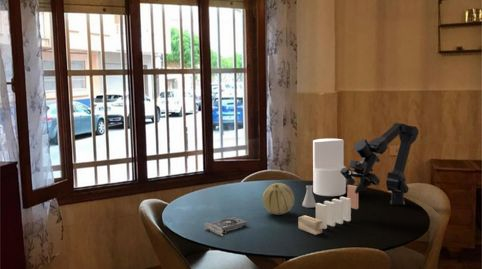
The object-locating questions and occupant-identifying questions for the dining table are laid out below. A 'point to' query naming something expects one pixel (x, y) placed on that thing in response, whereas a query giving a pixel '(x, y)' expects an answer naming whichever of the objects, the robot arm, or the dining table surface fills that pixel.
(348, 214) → the domino
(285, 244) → the dining table surface
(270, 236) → the dining table surface
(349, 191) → the domino
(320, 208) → the domino
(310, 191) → the flask
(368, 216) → the dining table surface
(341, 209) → the domino
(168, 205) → the dining table surface
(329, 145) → the cylinder
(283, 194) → the cantaloupe
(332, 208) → the domino
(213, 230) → the graphics card
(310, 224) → the block
